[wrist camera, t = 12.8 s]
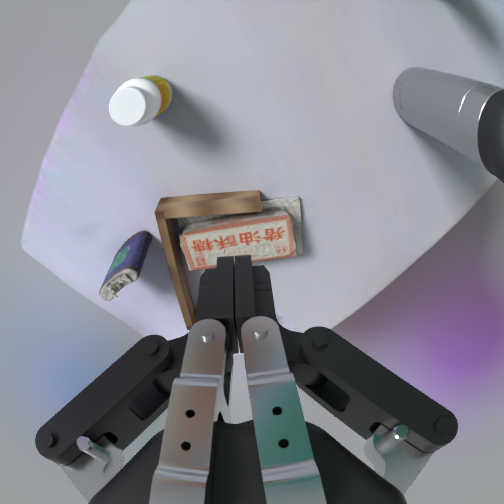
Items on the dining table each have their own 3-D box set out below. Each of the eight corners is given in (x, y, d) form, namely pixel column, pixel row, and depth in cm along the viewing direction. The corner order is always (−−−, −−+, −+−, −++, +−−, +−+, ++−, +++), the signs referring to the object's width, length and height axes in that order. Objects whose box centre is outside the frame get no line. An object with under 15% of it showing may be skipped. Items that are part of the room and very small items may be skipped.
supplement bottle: (172, 72, 29) (150, 75, 22) (175, 112, 33) (156, 128, 25) (131, 79, 29) (99, 86, 22) (135, 117, 32) (106, 136, 25)
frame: (259, 190, 40) (261, 203, 37) (262, 310, 55) (264, 326, 51) (161, 198, 40) (154, 211, 37) (189, 313, 54) (187, 329, 51)
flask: (123, 266, 47) (104, 312, 38) (110, 256, 45) (89, 301, 37) (156, 237, 44) (139, 284, 35) (142, 225, 42) (122, 270, 34)
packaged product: (190, 284, 44) (170, 230, 38) (193, 264, 48) (176, 212, 42) (308, 267, 43) (305, 209, 37) (302, 248, 47) (298, 193, 41)
